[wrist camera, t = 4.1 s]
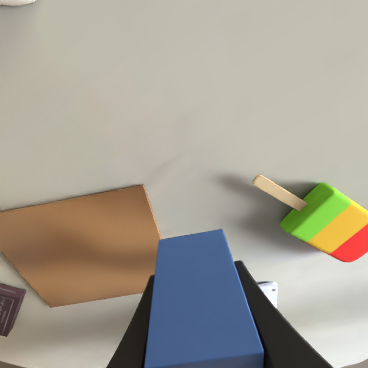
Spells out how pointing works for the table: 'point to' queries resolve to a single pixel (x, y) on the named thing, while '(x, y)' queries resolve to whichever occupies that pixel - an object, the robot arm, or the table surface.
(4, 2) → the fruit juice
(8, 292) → the chocolate bar
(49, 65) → the table surface
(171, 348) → the blue block
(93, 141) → the table surface
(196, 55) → the table surface
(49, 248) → the cork mat
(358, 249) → the popsicle
